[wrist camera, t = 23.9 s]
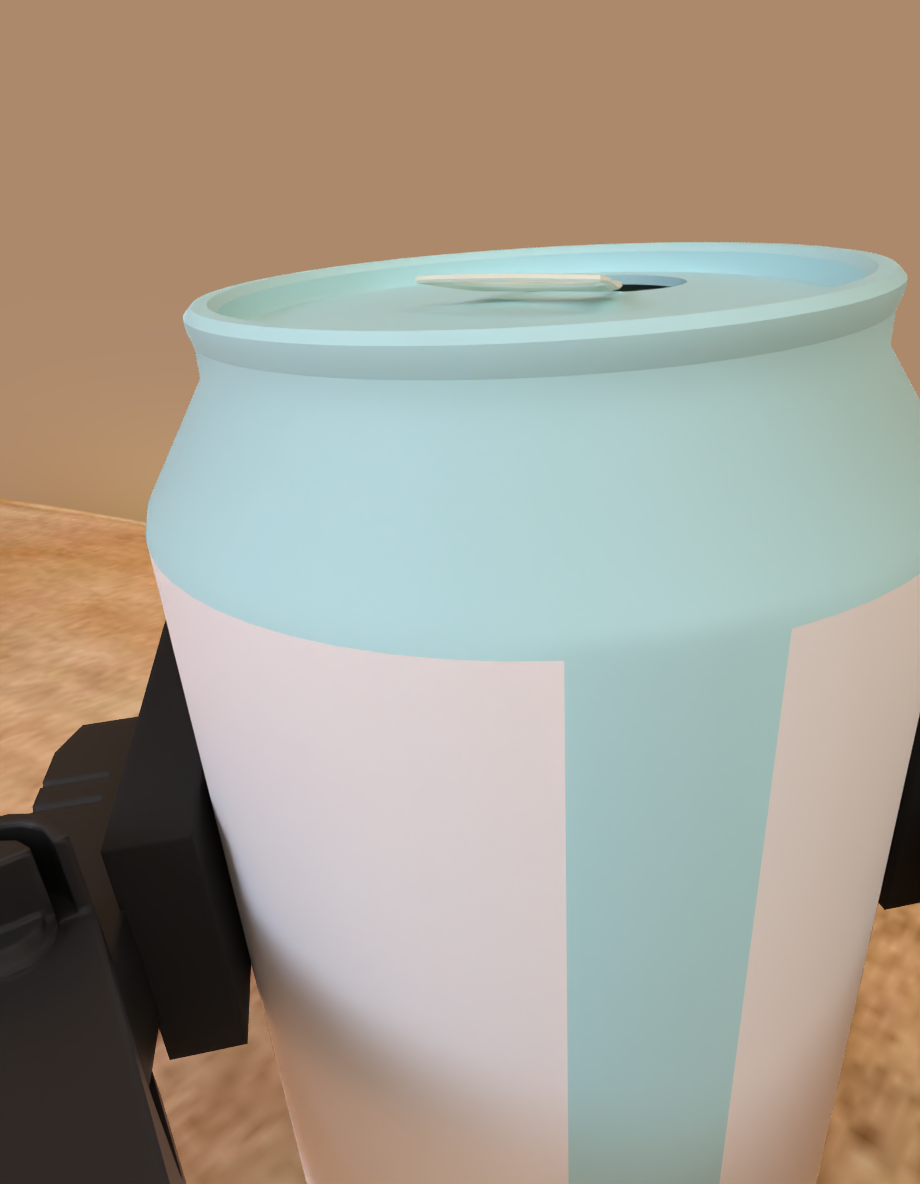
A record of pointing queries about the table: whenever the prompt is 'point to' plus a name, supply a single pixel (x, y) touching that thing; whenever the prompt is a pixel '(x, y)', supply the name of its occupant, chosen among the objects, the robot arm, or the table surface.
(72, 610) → the table surface
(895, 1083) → the table surface
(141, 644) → the table surface
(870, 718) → the can
